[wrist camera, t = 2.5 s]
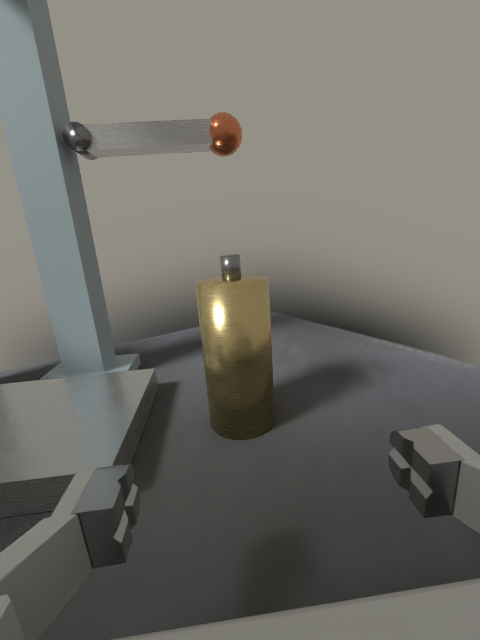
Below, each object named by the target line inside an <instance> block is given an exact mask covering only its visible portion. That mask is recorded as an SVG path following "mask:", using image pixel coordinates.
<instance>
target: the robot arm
mask: <svg viewBox="0 0 480 640" xmlns="http://www.w3.org/2000/svg"><path fill="white" fill-rule="evenodd" d="M390 443H391V444H392V446H393V447H394V448H393V449H392V450H391V452H390V453H389V467H390V470H391V473H392V475H393V477H394V479H395V481H396V482H397V483H398V485H399V486H400V487H402V488H404V489H406V490H407V491H409V499H410V500H411V502H412V503H413V504H414V506H415V507H416V508H417V509H418V511H419V512H420V513H421V515H422V516H423V517H424V518H429V517H437V516H446V515H453V516H454V517H455V518H457V519H458V520H460V521H461V522H463V523H464V524H466V525H467V526H469V527H470V528H472V529H473V530H475V531H476V532H478V533H479V534H480V455H479V454H478V453H476V452H475V451H474V450H473V449H471V448H470V447H469V446H467V445H466V444H465V443H464V442H462V441H461V440H460V439H459V438H457V437H456V436H455V435H454V434H452V433H451V432H450V431H449V430H447V429H446V428H445V427H444V426H442V425H439V424H435V425H429V426H423V427H418V428H411V429H403V430H396V431H392V433H391V435H390ZM134 478H135V471H134V467H133V465H131V464H127V465H117V466H108V467H98V468H91V469H82V470H79V471H78V472H77V473H76V474H75V476H74V477H73V479H72V481H71V483H70V484H69V486H68V488H67V489H66V491H65V493H64V494H63V496H62V498H61V500H60V501H59V503H58V505H57V506H56V508H55V510H54V511H53V513H52V515H51V517H49V518H44V519H43V520H41V521H40V522H39V523H38V524H36V525H35V526H34V527H32V528H31V529H30V530H29V531H27V532H26V533H25V534H23V535H22V536H21V537H20V538H18V539H17V540H16V541H15V542H13V543H12V544H11V545H9V546H8V547H7V548H6V549H4V550H3V551H2V552H0V640H38V639H39V638H40V637H41V636H42V634H43V633H44V632H45V631H46V629H47V628H48V627H49V625H50V624H51V623H52V622H53V620H54V619H55V618H56V617H57V615H58V614H59V613H60V612H61V610H62V609H63V608H64V607H65V605H66V604H67V603H68V601H69V600H70V599H71V598H72V596H73V595H74V594H75V593H76V591H77V590H78V589H79V588H80V586H81V585H82V584H83V583H84V581H85V580H86V579H87V577H88V576H89V575H90V574H91V572H92V571H93V570H92V569H94V568H99V567H105V566H110V565H116V564H121V563H126V560H127V556H128V553H129V549H130V545H131V542H132V534H131V529H132V527H133V526H134V525H135V524H136V523H137V519H138V515H139V505H140V499H139V490H138V487H137V486H136V485H135V484H133V481H134ZM111 640H480V578H477V579H471V580H465V581H459V582H453V583H447V584H441V585H435V586H429V587H423V588H417V589H411V590H405V591H400V592H394V593H388V594H382V595H376V596H370V597H364V598H358V599H352V600H346V601H340V602H334V603H328V604H322V605H316V606H310V607H304V608H298V609H291V610H285V611H279V612H273V613H267V614H261V615H255V616H249V617H243V618H237V619H231V620H225V621H219V622H213V623H207V624H201V625H195V626H189V627H183V628H177V629H171V630H165V631H159V632H153V633H147V634H141V635H135V636H129V637H123V638H117V639H111Z"/></svg>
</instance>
